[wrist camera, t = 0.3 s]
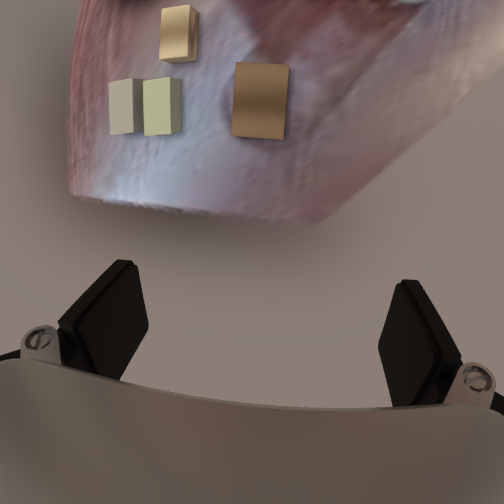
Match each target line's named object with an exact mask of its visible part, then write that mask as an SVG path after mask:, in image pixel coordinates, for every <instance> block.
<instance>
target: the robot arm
mask: <svg viewBox="0 0 504 504" xmlns="http://www.w3.org/2000/svg"><path fill="white" fill-rule="evenodd" d="M58 324H59V326H60V327H59V328H58V330H56V329H55V328H54V327H52V326H48V325H43V326H38V327H35V328H33V329H31V330H30V331H29V332H27V333H26V334H25V335H24V337H23V338H22V341H21V349H19V350H16V351H13V352H10V353H7V354H4V355H1V356H0V504H504V397H503V396H502V395H500V394H498V393H496V392H495V388H496V381H495V378H494V376H493V374H492V372H491V371H490V370H489V369H488V368H486V367H485V366H483V365H481V364H479V363H475V362H469V363H465V364H463V363H462V361H461V359H460V358H461V354H460V352H459V350H458V348H457V346H456V345H455V343H454V341H453V339H452V337H451V335H450V333H449V332H448V330H447V328H446V326H445V324H444V323H443V321H442V319H441V317H440V316H439V314H438V312H437V310H436V309H435V307H434V305H433V304H432V302H431V300H430V299H429V297H428V295H427V294H426V292H425V290H424V289H423V287H422V286H421V284H420V283H419V281H418V280H406V279H403V280H402V281H401V283H398V284H397V285H396V287H395V290H394V294H393V298H392V301H391V305H390V308H389V311H388V315H387V318H386V321H385V324H384V327H383V331H382V333H381V336H380V339H379V344H378V350H379V354H380V358H381V361H382V365H383V369H384V373H385V377H386V381H387V384H388V388H389V392H390V397H391V401H392V405H393V407H375V408H310V407H289V406H275V405H262V404H252V403H241V402H233V401H225V400H217V399H211V398H204V397H197V396H191V395H186V394H179V393H174V392H169V391H164V390H159V389H154V388H149V387H145V386H140V385H136V384H131V383H127V382H123V381H119V380H120V378H121V376H122V374H123V373H124V371H125V369H126V367H127V366H128V364H129V362H130V360H131V358H132V356H133V355H134V353H135V352H136V350H137V348H138V346H139V345H140V343H141V341H142V339H143V338H144V336H145V334H146V333H147V331H148V326H149V325H148V324H149V323H148V318H147V314H146V309H145V304H144V299H143V293H142V288H141V283H140V277H139V271H138V267H137V266H136V265H134V263H133V262H132V261H131V260H119V259H118V260H116V261H115V262H114V263H113V264H112V265H111V266H110V267H109V268H108V269H107V270H106V271H105V272H104V273H103V274H102V275H101V276H100V277H99V278H98V279H97V280H96V281H95V282H94V283H93V284H92V285H91V286H90V287H89V288H88V289H87V290H86V291H85V292H84V293H83V294H82V296H80V298H79V299H78V300H77V301H76V302H75V303H74V304H73V305H72V306H71V307H70V308H69V309H68V310H67V311H66V313H65V314H64V315H63V316H62V317H61V318H60V319H59V320H58Z"/></svg>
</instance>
